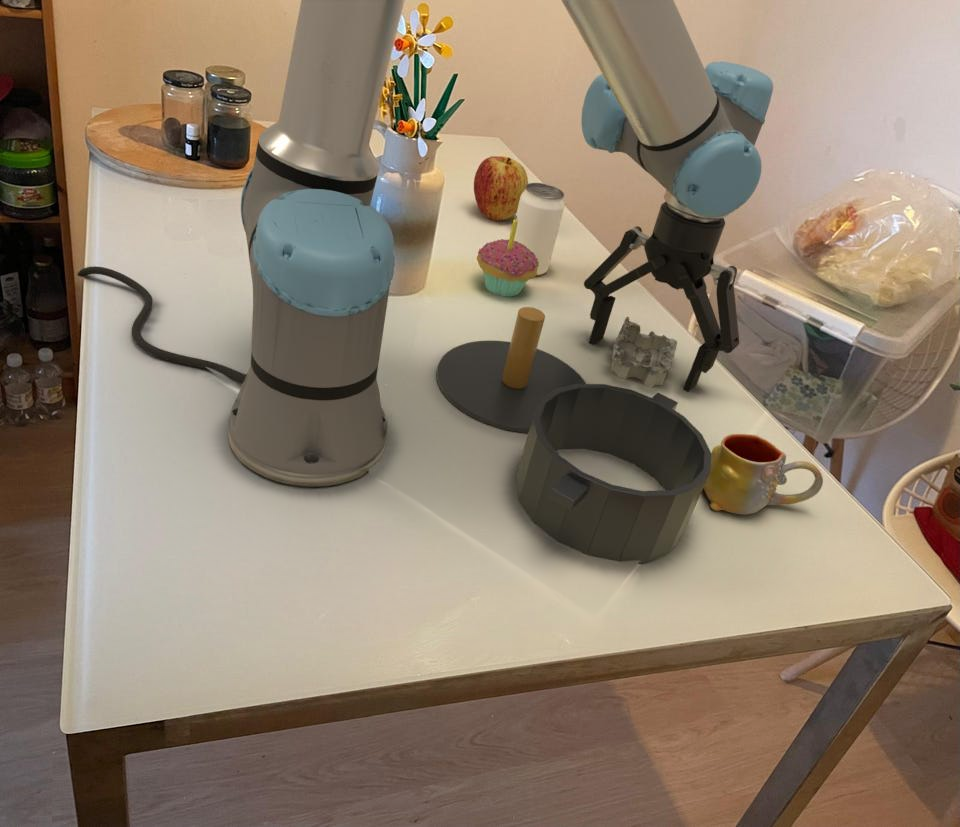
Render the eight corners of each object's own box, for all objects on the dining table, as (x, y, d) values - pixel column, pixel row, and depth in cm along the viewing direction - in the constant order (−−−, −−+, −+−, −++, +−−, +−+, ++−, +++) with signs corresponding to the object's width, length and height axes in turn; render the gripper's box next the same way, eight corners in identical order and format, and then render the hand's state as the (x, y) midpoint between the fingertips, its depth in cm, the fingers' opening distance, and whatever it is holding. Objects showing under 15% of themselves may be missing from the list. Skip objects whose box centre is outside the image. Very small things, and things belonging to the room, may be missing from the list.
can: (535, 281, 123) (554, 203, 116) (497, 264, 125) (514, 187, 118) (555, 268, 127) (574, 193, 121) (518, 253, 130) (536, 178, 123)
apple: (468, 200, 144) (479, 142, 138) (520, 210, 144) (533, 153, 139) (467, 221, 136) (479, 161, 130) (522, 231, 137) (536, 172, 131)
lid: (403, 383, 95) (416, 303, 89) (492, 333, 108) (508, 261, 102) (536, 460, 88) (560, 378, 82) (614, 396, 101) (639, 322, 95)
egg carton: (617, 340, 113) (625, 313, 110) (671, 357, 112) (681, 331, 109) (602, 376, 104) (611, 348, 102) (661, 396, 103) (671, 367, 101)
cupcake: (525, 311, 114) (546, 229, 108) (465, 295, 115) (482, 213, 108) (534, 285, 121) (554, 207, 115) (477, 270, 122) (494, 191, 115)
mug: (701, 511, 86) (724, 460, 82) (694, 469, 92) (715, 420, 88) (815, 535, 86) (843, 486, 82) (801, 493, 92) (827, 445, 88)
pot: (465, 512, 79) (482, 441, 74) (579, 419, 95) (599, 356, 91) (623, 611, 72) (653, 540, 68) (716, 493, 89) (746, 429, 84)
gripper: (808, 242, 94) (741, 398, 106) (614, 166, 103) (572, 317, 115) (788, 259, 88) (719, 421, 100) (585, 178, 98) (544, 334, 110)
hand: (640, 366), depth 108 cm, fingers open, 13 cm apart
